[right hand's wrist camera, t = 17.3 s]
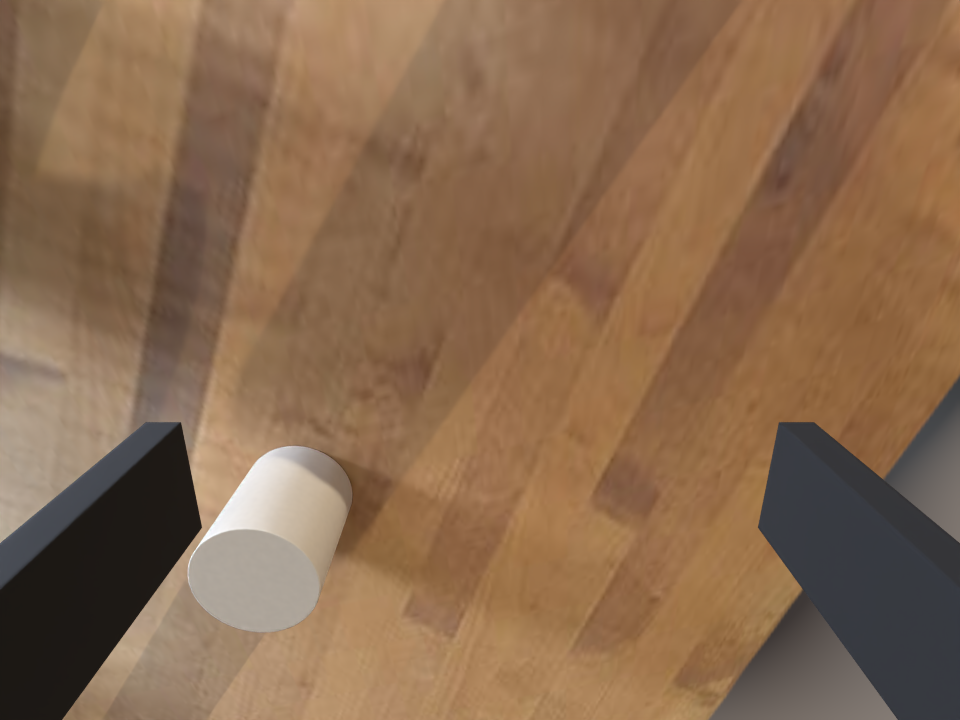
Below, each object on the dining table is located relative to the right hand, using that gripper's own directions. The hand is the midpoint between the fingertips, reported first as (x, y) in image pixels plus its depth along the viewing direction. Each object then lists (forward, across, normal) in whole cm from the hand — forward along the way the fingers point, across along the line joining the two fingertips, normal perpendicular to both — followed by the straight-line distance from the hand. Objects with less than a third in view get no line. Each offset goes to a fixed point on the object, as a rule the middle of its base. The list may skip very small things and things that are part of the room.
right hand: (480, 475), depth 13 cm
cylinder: (+27, -14, -18) cm, 36 cm away
